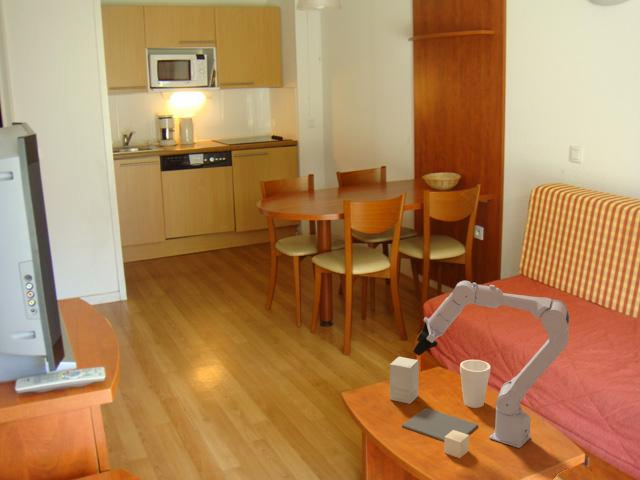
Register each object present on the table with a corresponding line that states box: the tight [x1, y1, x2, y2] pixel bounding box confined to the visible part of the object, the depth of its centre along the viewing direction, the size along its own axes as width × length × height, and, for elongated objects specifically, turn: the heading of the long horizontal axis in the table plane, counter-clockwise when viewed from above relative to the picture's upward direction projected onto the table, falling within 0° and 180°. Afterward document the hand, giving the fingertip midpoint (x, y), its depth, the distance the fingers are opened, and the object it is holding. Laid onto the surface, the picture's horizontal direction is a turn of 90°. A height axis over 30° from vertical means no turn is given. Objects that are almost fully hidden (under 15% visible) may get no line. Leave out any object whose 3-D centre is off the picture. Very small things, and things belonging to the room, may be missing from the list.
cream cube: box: [443, 430, 470, 459], centre depth 206 cm, size 5×5×5 cm
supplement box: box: [389, 356, 420, 405], centre depth 239 cm, size 7×7×13 cm
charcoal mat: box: [401, 407, 479, 442], centre depth 221 cm, size 18×14×1 cm
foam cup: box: [459, 359, 491, 409], centre depth 234 cm, size 10×9×13 cm
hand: (417, 347), depth 218 cm, fingers open, 7 cm apart
